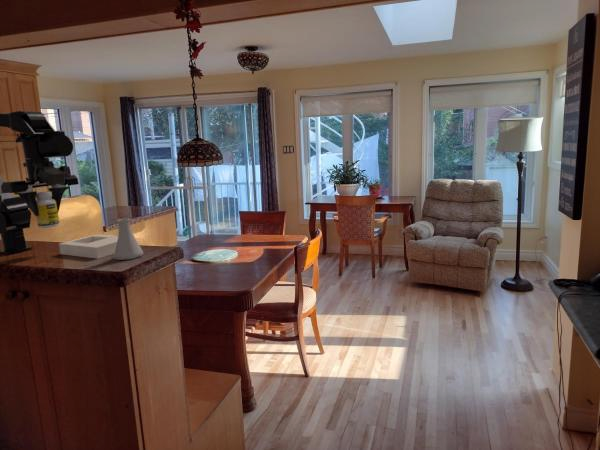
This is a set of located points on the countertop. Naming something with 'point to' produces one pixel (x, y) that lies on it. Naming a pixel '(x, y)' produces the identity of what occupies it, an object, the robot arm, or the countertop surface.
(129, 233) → the flask
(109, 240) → the block
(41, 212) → the supplement bottle
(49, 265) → the countertop surface
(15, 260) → the countertop surface
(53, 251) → the countertop surface
